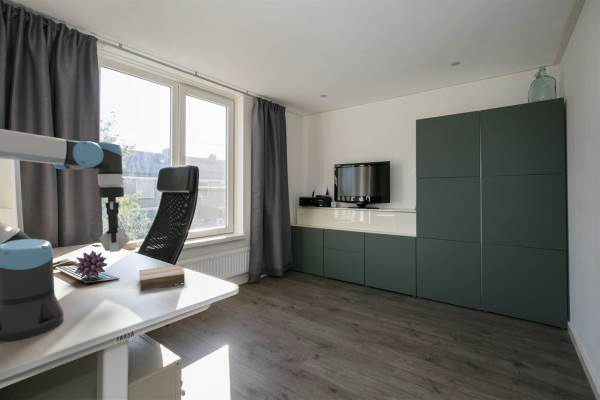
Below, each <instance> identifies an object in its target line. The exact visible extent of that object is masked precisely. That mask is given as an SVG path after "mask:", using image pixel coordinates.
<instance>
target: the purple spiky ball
mask: <svg viewBox="0 0 600 400" xmlns="http://www.w3.org/2000/svg"><path fill="white" fill-rule="evenodd" d="M82 255H83V257H78V256H77V257H76V260H77V261H78V262H77V263H73V266H74V267H76V269H75V271H74V274H78V275H80V274H81V275H80V278H81V279H83V278H84V277H86V279H87V278H89V279H91V278H92V277H96V278H97V277H98V278H99V273H105V272H106V270H105V269H104V267H107V266H108V263H107V262H105V260H107V257H105V256H101V255H102V252H100V253H98V254H97V252H95V250H91V252H90V253H89V254H88V253H87V252H83V253H82ZM82 277H83V278H82Z"/></svg>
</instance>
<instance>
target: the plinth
mask: <svg viewBox="0 0 600 400" xmlns="http://www.w3.org/2000/svg"><path fill="white" fill-rule="evenodd" d="M181 283H184V284H185V273H184V271H183V270H182V268H181V266H180V265H179V264H177V265H170V266H169V265H168V266H163V267H155V268H148V269H142V270H141V269H140V270H139V285H140V291H141V292H144V291H150V290H156V289H161V287H163V288H167V287H166V286H169V287H171V286H170V285H175V284H181ZM181 285H182V284H181ZM175 286H176V285H175Z"/></svg>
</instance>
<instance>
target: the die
mask: <svg viewBox="0 0 600 400" xmlns="http://www.w3.org/2000/svg"><path fill="white" fill-rule="evenodd" d="M117 229H118V232H117V233H118V240H119V251H118V252H120V251H121V250H122V249H123V248H124V247H126V245H127V244H128V243H129V242H130V237H128V234H127V232H126V230H125V229H124V228H123V227H122V228H117ZM108 230H109V229H107V230H106V231H105V232H104V233H103V234H102V235H101V236H99V238H98V240H99V242H100V243H101V245H102V247H103V249H104V251H105V252H110V243H109V234H107V232H108Z"/></svg>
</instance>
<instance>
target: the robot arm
mask: <svg viewBox="0 0 600 400" xmlns="http://www.w3.org/2000/svg"><path fill="white" fill-rule="evenodd" d="M121 148H122V147H121V145H120V144H119V143H117V142H110V141H108V142H107V141H100V142H93V141H89V140H82V141H78V140H71V139H70V140H69V139H64V138H59V137H53V136H49V135H48V136H46V135H40V134H35V133H34V134H33V133H29V132H22V131H15V130H10V129H5V128H4V129H3V128H0V159H1V160H2V159H5V160H13V161H22V162H32V163H40V164H41V163H42V164H51V165H53V166H54V168H55V169H58V170H66V171H68V170H92V171H93V170H95V171H96V170H97V182H98V183H97V185H98V186H100V187H99V188H98V193H99V194H98V196H99V198H101V199H102V198H103V199H104V198H105V199H106V198H107V202H105V208H106V215H107V222H108V224H107V225H108V229H107V230H108V232H107V234H109V243H110V251H109V253H115V252H120V251H119V240H118V233H117V232H118V229H117V228H121V226H120V225H119V213H120V211H119V207H120V203H119V201H117V198H122V197H123V198H124V196H125V192H124V191H125V188H124V186H123V185H124V180H125V179H126V177H125V176H123V154H122V149H121ZM53 256H54V249H53V246H52V243H51V242H50V241H48V240H45V239H38V238H31V237H29V236H28V234H27V233H25V232H24V231H23V230H22V229H21V228H20V227H19V228H18V227H9V226H8V225H7V224H6V223H5V222H3V221H2V220H1V219H0V341H4V342H11V341H12V342H14V341H18V340H22V339H27V338H31V337H35V336H37V335H41V334H44V333H47V332H48V331H51V330H53V329H55V328H56V327H59V326H60V325H61V324H62V323H64V321H65V317H64V314H65V313H64V310H63V308H62V306H61V304H60V302H59V301H58V298H57V296H56V294H55V279H54V277H55V276H54V258H53Z"/></svg>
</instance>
